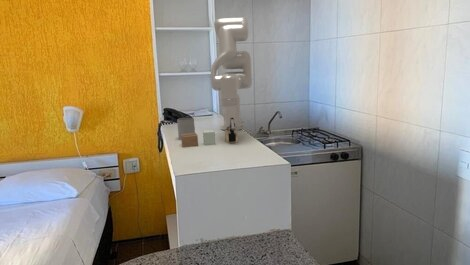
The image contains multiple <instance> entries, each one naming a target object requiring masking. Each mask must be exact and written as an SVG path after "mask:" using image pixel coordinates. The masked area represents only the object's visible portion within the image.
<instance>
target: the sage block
mask: <svg viewBox="0 0 470 265" xmlns="http://www.w3.org/2000/svg"><path fill="white" fill-rule="evenodd" d="M202 137H203V144H204V146H215V145H216V133H215V130H214V129H211V130H208V129H207V130H202Z"/></svg>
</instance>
